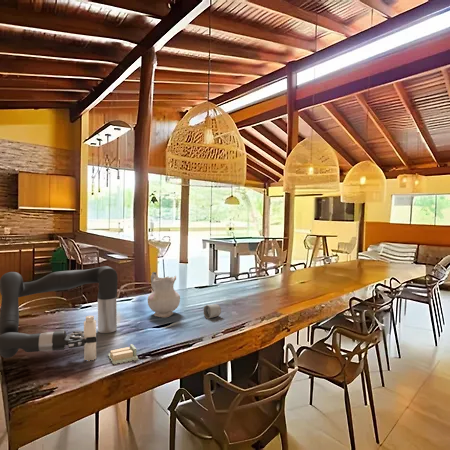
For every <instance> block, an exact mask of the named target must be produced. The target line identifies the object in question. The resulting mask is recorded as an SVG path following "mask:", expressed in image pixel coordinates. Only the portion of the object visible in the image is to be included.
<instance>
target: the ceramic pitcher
mask: <svg viewBox="0 0 450 450" xmlns="http://www.w3.org/2000/svg"><path fill="white" fill-rule="evenodd" d="M176 280H177V275H175V276H174V277H173V276H165V277H158V274H157V271H153V272H151V275H150V286H151V289H152V292H150V294H149V295H148V297H147V305H148V307H149V309H150V310H151V311H152V312H154V313H153V316H155V317H159V318H163V319H164V318H169V317H171V316H172V315H174V311H175V310H177V309H178V307H179V305H180V304H181V303H180V302H181V295H180V294H179V292H177V291H176V290H175V289H174V285H175V282H176Z"/></svg>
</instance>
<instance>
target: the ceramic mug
mask: <svg viewBox="0 0 450 450" xmlns="http://www.w3.org/2000/svg"><path fill="white" fill-rule="evenodd" d="M221 313H222V308H221V306H220V305H219V304H216V303H215V304H213V303H212V304H206V305H204V307H203V316H204V317H205V318H206V319H212V318H217V317H220V315H221Z"/></svg>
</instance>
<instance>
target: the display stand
mask: <svg viewBox="0 0 450 450" xmlns="http://www.w3.org/2000/svg"><path fill="white" fill-rule="evenodd" d="M108 356H109V357H108ZM107 357H108V359H109V360H110V359H111V360H110V362H111V361H112V362H111V364H112V365H113V364H116V365H118V364H117V363H120V364H124V363H123V362H125V363H128V361H129V362H132V360H134V361H139V357H138V355H137V347H136V346H135V345H134V344H133V343H131V344H129V346H127V347H122V348H116V349H112V350H110V351H109V353H107Z"/></svg>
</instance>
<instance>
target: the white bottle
mask: <svg viewBox="0 0 450 450" xmlns="http://www.w3.org/2000/svg"><path fill="white" fill-rule="evenodd" d="M83 331H84V337H86V338H87V337H96V332H97V320H96V319H95V316H94V315H87V316H85V320H84V321H83ZM83 356H84V357H83V360H84V361H85V360H88V361H87V362H91V361H90V360H93V361H95V360H97V341H96V342H94V343H87V344H84V346H83ZM94 359H95V360H94Z"/></svg>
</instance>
